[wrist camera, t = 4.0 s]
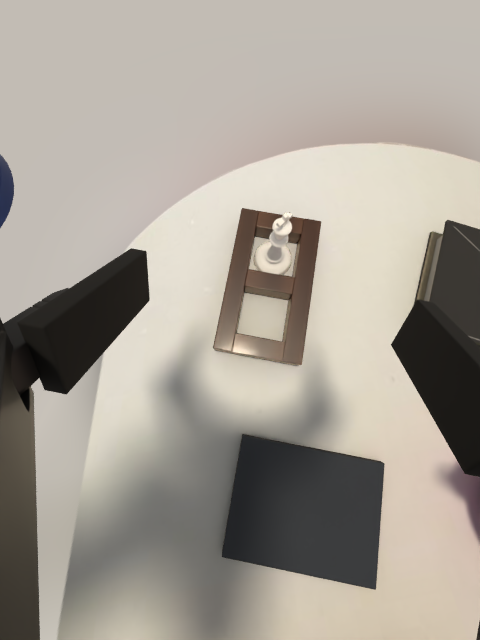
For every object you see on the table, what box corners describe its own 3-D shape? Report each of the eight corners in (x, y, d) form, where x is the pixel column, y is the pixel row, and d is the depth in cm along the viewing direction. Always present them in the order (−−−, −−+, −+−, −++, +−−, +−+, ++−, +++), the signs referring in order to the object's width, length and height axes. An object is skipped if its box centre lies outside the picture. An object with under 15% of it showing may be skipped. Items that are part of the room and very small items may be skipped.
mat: (222, 552, 28) (221, 557, 27) (242, 434, 30) (242, 435, 30) (372, 583, 27) (376, 590, 27) (380, 461, 30) (384, 463, 29)
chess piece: (246, 258, 35) (249, 213, 25) (272, 235, 35) (285, 182, 26) (272, 284, 34) (285, 248, 24) (298, 260, 35) (322, 216, 25)
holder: (214, 350, 32) (212, 348, 30) (241, 219, 36) (241, 207, 33) (296, 365, 32) (301, 364, 30) (315, 231, 36) (321, 221, 33)
